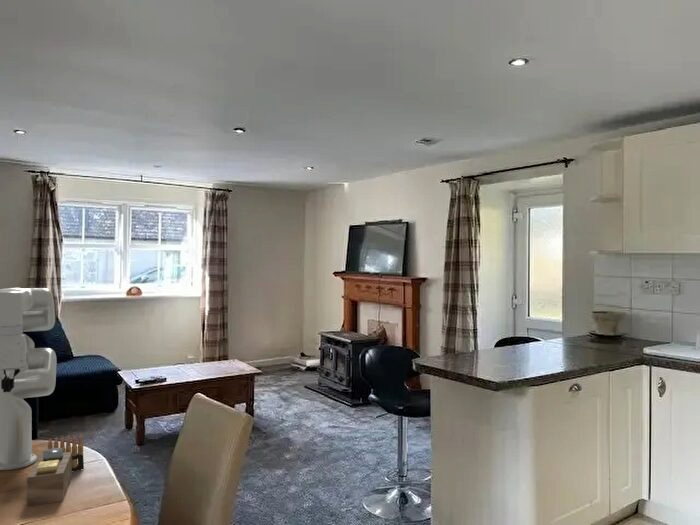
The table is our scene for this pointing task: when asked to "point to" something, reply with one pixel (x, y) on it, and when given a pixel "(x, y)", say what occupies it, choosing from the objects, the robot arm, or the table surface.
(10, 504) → the table surface
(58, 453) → the pin
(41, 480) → the block
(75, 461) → the ammunition clip
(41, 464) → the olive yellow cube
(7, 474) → the table surface
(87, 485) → the table surface
